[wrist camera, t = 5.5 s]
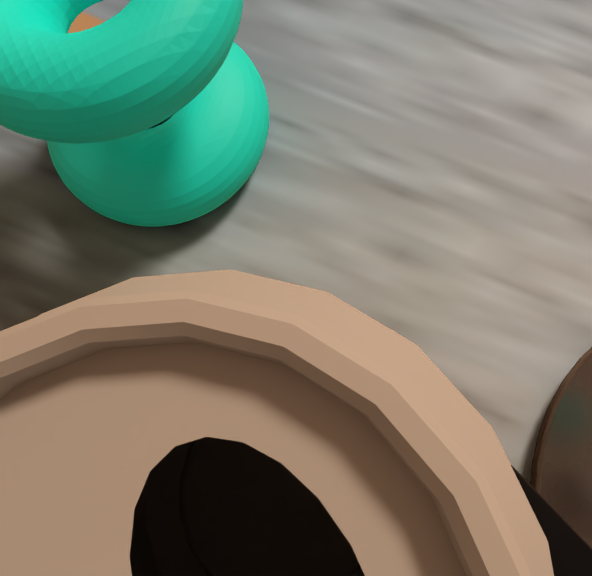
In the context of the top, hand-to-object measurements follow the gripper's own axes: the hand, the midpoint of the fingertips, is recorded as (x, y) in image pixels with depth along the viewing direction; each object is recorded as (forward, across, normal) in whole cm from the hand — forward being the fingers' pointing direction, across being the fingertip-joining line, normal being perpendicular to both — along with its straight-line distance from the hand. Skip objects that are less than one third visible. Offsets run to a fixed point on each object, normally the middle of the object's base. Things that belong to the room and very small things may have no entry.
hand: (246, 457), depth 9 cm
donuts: (+18, +6, -1) cm, 19 cm away
